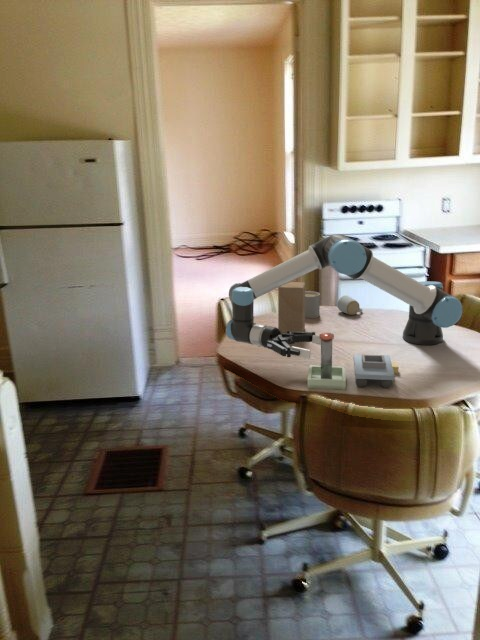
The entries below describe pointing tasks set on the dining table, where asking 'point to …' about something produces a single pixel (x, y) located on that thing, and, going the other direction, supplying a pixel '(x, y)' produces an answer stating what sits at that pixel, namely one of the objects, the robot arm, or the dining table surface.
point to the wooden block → (291, 307)
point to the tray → (334, 383)
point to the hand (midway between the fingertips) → (320, 348)
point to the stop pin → (326, 355)
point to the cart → (374, 369)
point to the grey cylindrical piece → (312, 304)
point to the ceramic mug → (348, 305)
